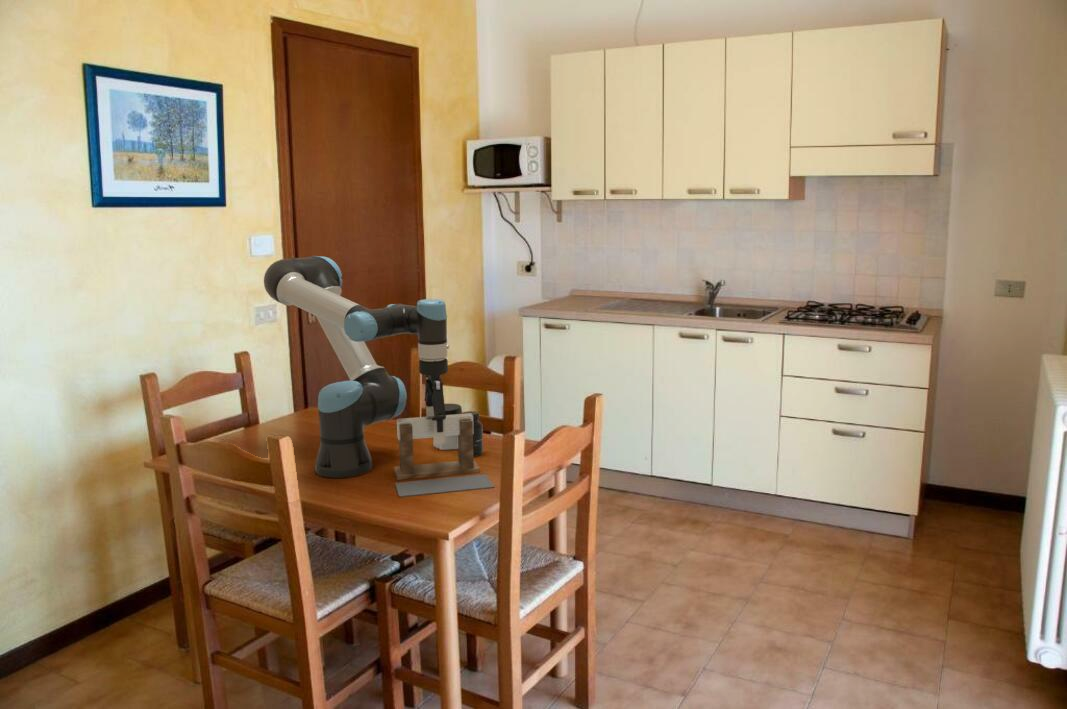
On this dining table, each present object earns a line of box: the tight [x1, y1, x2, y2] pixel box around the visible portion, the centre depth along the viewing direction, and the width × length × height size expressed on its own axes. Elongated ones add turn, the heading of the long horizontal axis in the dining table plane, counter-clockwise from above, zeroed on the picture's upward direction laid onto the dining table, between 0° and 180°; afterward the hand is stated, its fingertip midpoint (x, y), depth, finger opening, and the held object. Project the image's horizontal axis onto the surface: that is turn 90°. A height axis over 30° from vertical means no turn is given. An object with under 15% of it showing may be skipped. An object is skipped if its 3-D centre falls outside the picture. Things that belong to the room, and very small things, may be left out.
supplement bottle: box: [462, 410, 484, 457], centre depth 242 cm, size 7×7×12 cm
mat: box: [394, 473, 495, 498], centre depth 216 cm, size 24×10×1 cm, turn 105°
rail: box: [396, 413, 474, 441], centre depth 225 cm, size 20×3×5 cm, turn 105°
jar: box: [432, 403, 463, 451], centre depth 249 cm, size 9×8×12 cm
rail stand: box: [393, 420, 481, 481], centre depth 226 cm, size 22×8×14 cm, turn 105°
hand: (435, 436), depth 226 cm, fingers open, 13 cm apart
